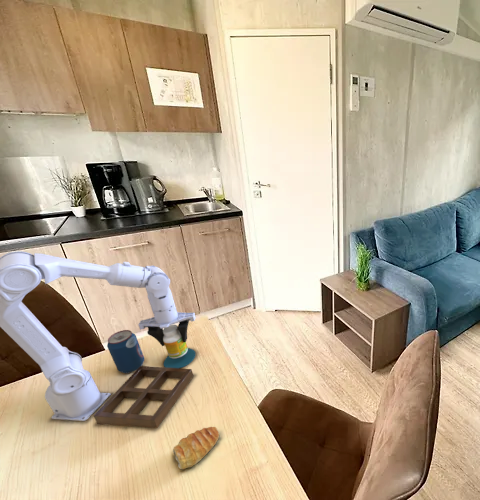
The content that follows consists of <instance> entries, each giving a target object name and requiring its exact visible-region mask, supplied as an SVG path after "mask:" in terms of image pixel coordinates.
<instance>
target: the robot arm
mask: <svg viewBox="0 0 480 500" xmlns="http://www.w3.org/2000/svg"><path fill="white" fill-rule="evenodd" d="M63 277H67V278H80V279H92V280H93V279H95V280H106V282H107V283H108V284H109V285H111V286H117V287H127V288H135V289H137V288H138V289H143V288H144V289H145V291H146V294H147V295H146V297H147V299H148V302H149V305H150V308H151V311H152V314H153V316H152V317H149V318H146V319H141V320H140V321H139V323H138V327H139V330H145V329H146V328H147V335H148V336H151V337H152V338H154V339H155V340H156V341H157V342H158V343H159V344H160V345H161V347H165V344H164V341H163V336H164V334H163V329H164V328H167V327H168V326H169V325H176V324H178V325H177V326H178V327H177V329H178V330H179V332H180V334H181V336H182V340H183V342H186V343H187V340H188V328H189V323H190V322H195V321H196V317H197V316H196V314H195V312H181V311H178V310H177V307H176V304H175V303H176V302H175V301H174V297H173V293H172V290H171V288H170V285H171V278H169V275H167V274H166V272H165V271H163V270H162V269H161V268H160V267H158V266H155V265H145V266H139V265H133V264H131V263H130V262H129V261H122V263H121V262H116V263H114V264H113V263H112V264H110V265H104V264H97V263H93V262H88V261H82V260H75V259H71V258H65V257H61V256H60V257H59V256H55V255H51V254H45V253H41V252H39V253H38V252H34V253H30V252H27V251H22V250H21V251H20V250H19V251H18V250H17V251H10V252H7V253H5V254H3V255H2V256H0V328H1V329H2V331H4V332H5V333H6V334H7V335H8V336H9V337H10V338H11V339H12V340H13V341H14V342H15V343H16V344H17V345H18V346H19V347H20V348H21V349H22V350H23V351H24V352H25V353H26V354H27V355H28V356H29V357H30V358H31V359H32V360H33V361H34V362H35V363H36V364H38V366H39V367H40V369H41V372H42V373H43V375H44V377H45V379H46V380H47V381H48V382H49V385H48V387H47V388H46V390H45V392H44V399H45V401H46V403H47V404H48V406H49V407H50V409H51V410H52V412H53V415H52V416H51V417H50V418H51V419H52V420H61V421H77V422H86V421H88V420H89V419H90V417H91V416H92V415H94V414H95V413H96V412H97V411H98V410H99V409H100V408H101V407H102V406H103V405H104V404H105V402H106V401H107V400H108V399H109V398H110V397H111V396H112V394H111V393H110V392H101V391H100V390H99V388H98V386H97V384H96V382H95V380H94V378H93V376H92V374H91V372H90V371H89V370H87V369H85V368H84V365H83V357H82V356H81V355H80V354H79V353H78V352H75V351H71V350H69V349H68V347H66V346H62V344H61V343H60V342H59V341H58V340H57V339H56V338H55V337H54V336H53V334H52V333H51V332H50V331H49V330H48V329H47V328H46V327H45V326H44V324H43V323H41V321H40V320H39V319H38V318H37V317H36V316H35V314H34V313H32V311H31V310H30V309H29V308H28V307H27V306H26V305H25V303H24V302H23V299H24V298H25V296H26V295H27V294H28V293H31V292H32V291H33V290H34V289H36V287H37V286H38V285H40V283H41V281H42V280H44V284H46V285H47V284H49V283H51V282H54V281H56V280H57V279H60V278H63Z"/></svg>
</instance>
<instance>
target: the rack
mask: <svg viewBox="0 0 480 500" xmlns="http://www.w3.org/2000/svg"><path fill="white" fill-rule="evenodd" d="M144 377H145V378H154V379H153V380H151V382H150V383H149V385H148V386H147V387H145V388H144V387H137V385H139V383H140V382H141V381H142V379H144ZM168 379H178V381H177V382H176V384H175V385H174V387H173V388H172V389H160V388H161V387H162V386H163V385H164V383H166V381H167V380H168ZM192 379H194V373H193V370H192V368H184V367H183V368H166V367H164V366H147V365H142V366H140V367H139V368H138V369H137V370H136V371H134V372H132V374H131V375H130V376H129V377H128V378H127V379H126V380H125V382H123V384H121V386H119V388H117V390H116V391H115V392H114V393H113V394H111V396H110V397H109V398H108V399H107V400H106V401H105V402H104V403H103V404H102V405H101V406H100V407H99V408H98V409H97V410H96V411H95V412H94V413H93V416H92V417H93V418H94V420H95V423H96V424H97V425H109V426H122V427H137V428H153V429H158V428H159V427H160V426H161V424H162V422H163V421H164V420H165V418H166V417H167V415H168V414H169V412H170V411H171V410H172V408H173V407H174V405H175V403H177V401H178V400H179V398H180V397H181V395H182V394H183V392H184V391H185V390H186V388H187V387H188V385H189V384H190V382H191V381H192ZM125 399H129V400H130V399H131V400H135V401H134V402H133V403H132V404H131V405H130V407H129V408H128V409H127V411H126V412H125V413H123V412H122V413H121V412H114V411H115V410H116V409H117V408H118V407H119V405H120V404H121V403H122V402H123V401H124V400H125ZM150 401H161V402H162V403H161V404H160V405H159V407H158V408H157V410H155V412H154V413H153V414H152V415H151V414H150V415H149V414H141V412H142V411H143V410H144V408H145V407H146V406H147V405H148V403H150Z"/></svg>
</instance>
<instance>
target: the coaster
mask: <svg viewBox="0 0 480 500" xmlns="http://www.w3.org/2000/svg"><path fill="white" fill-rule="evenodd" d="M187 348H188V351H187V352H186V354H184V355H183V356H181V357H179V358H170V357H169V355H167V356H166V358H165V359H164V361H163V367H166V368H183V369H184V368H185V367H187V366H189V365H190V364H191V363H192V362H193V361H194V360H195V358H196V351H195V350H194V349H193V348H189V347H187Z"/></svg>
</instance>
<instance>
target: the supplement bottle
mask: <svg viewBox="0 0 480 500" xmlns="http://www.w3.org/2000/svg"><path fill="white" fill-rule="evenodd" d="M177 327H178V325H177V324H172V325H169V326H168V327H167V328H163V334H164V336H163V341H164V344H165V346H164V347H165V349H166V353H167V356H169V357H170V358H179V357H181V356H183V355H184V354H186V352H187V351H188V348H189V347H188V345H187V341H186V342H183V340H182V336H181V334H180V332H179V330H178V329H177Z"/></svg>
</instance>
